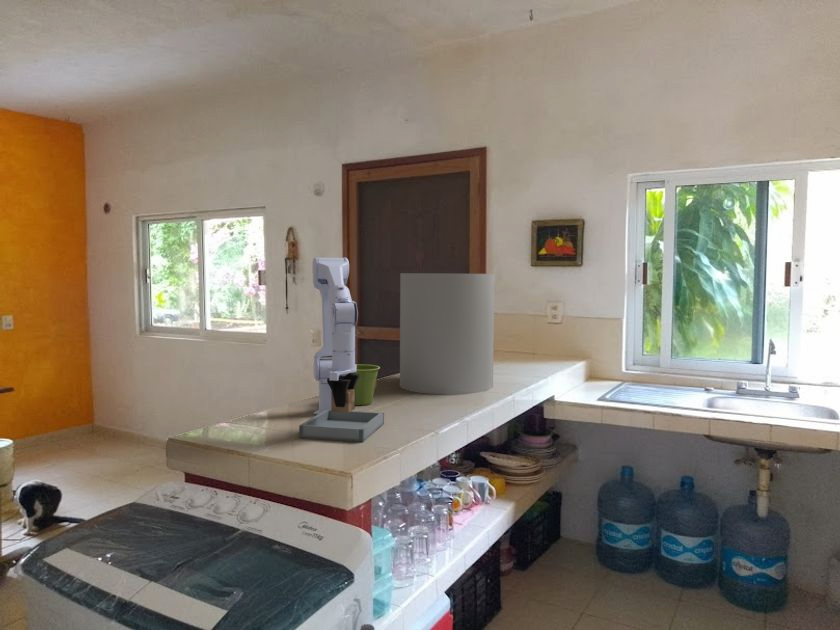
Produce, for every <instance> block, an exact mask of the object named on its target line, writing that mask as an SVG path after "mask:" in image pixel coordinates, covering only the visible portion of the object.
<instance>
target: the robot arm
mask: <svg viewBox="0 0 840 630" xmlns="http://www.w3.org/2000/svg"><path fill="white" fill-rule="evenodd" d="M349 275H350V263H349V259H348V258H347V257H317V256H315V257H314V258H313V259H312V284H313V288H315V289H316V290H319V294H320V297H321V318H322V320H321V321H322V344H323V346H322V347H321V348H320V349H318V351H316V352H315V353H314V355H313V378H314V380H315V381H316V382H317V381H318V409H317V410H316V411H313V414H314V415H318V414H320V413H321V412H323V411H325V410H326V409H330V410H331V392H332V393H333V397H334V402H335V405H336V407H344V406H345V402H346V394H347V389H354V388H355V385H356V382H357V380H358V378H359V374H353V372H356V371H357V364H356V326H357V324H358V318H359V317H358V316H359V311H358V306H357V302H356V301H354V300H352V296H351V292H350V289H349V288H348V286H346V284H347V282H348V278H349V277H350V276H349Z"/></svg>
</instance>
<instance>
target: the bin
mask: <svg viewBox="0 0 840 630" xmlns="http://www.w3.org/2000/svg"><path fill="white" fill-rule="evenodd" d="M384 424H385V412H380V411H363V410H362V411H361V410H352V411H351V412H349V413H343V412H331V410H330V409H326V410H325V411H323V412H321V413H320V414H315V416H312V418H310V419H308V420H306V421H303V423H301V424H299V426H298V428H299V429H298V431H299V432H298V437H299V439H310V440H312V439H315V440H328V441H341V442H353V443H354V442H355V443H363V442H365V441H366V440H367V439H369V438H370V437H371V436H372V435H373V434H374V433H376V432H377V431H379V429H380V428H381V427H382V426H383V425H384Z"/></svg>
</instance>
